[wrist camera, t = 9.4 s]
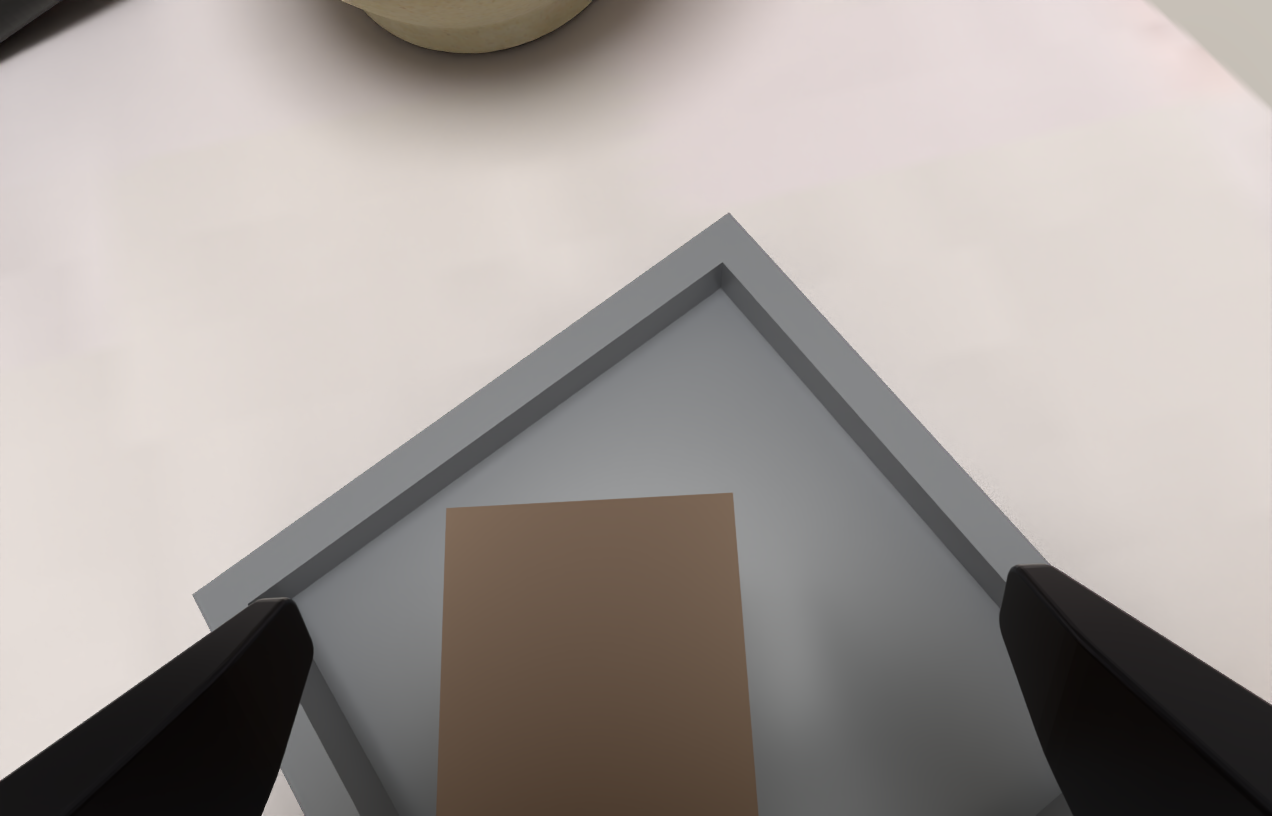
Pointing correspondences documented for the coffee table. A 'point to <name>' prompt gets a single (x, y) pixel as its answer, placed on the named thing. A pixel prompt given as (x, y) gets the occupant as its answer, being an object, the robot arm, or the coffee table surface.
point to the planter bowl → (470, 21)
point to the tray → (766, 542)
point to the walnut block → (594, 661)
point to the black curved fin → (20, 14)
